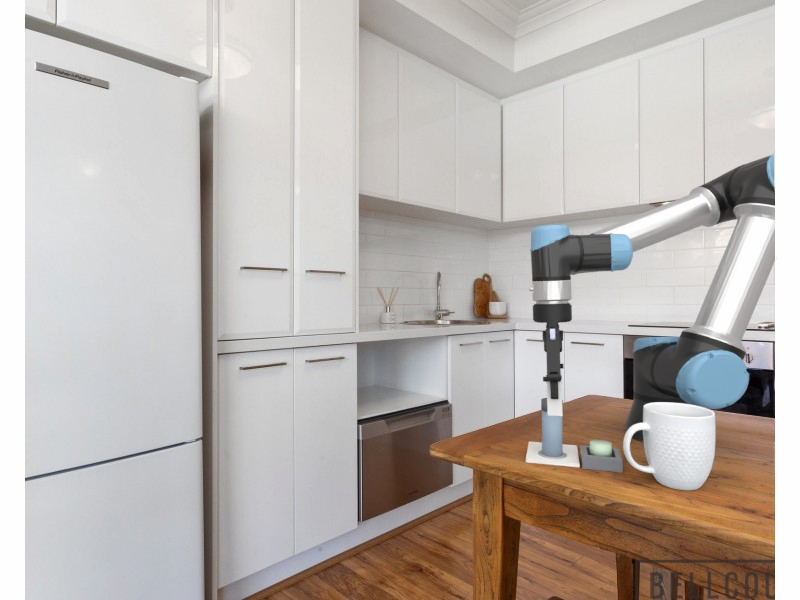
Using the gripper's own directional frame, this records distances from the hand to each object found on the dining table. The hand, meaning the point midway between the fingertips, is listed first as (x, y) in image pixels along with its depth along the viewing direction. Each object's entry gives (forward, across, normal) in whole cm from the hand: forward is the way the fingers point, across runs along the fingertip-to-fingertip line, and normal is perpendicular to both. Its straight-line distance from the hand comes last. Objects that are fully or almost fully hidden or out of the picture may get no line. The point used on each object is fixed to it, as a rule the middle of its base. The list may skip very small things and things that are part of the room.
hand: (555, 407), depth 99 cm
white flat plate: (+10, -1, -1) cm, 10 cm away
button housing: (+10, +2, +8) cm, 13 cm away
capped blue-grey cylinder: (+10, 0, -1) cm, 10 cm away
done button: (+9, +2, +8) cm, 12 cm away
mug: (+11, +8, +19) cm, 24 cm away
